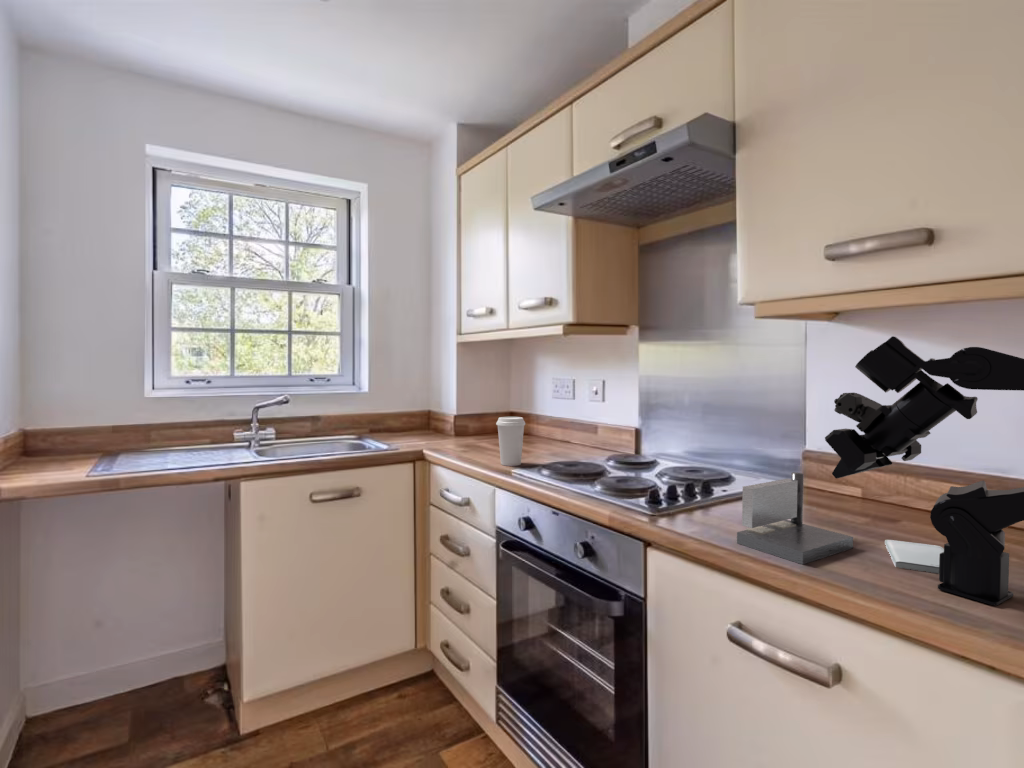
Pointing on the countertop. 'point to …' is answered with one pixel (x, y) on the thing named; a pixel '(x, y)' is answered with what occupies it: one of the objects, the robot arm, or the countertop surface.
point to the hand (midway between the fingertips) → (834, 476)
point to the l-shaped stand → (795, 536)
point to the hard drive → (914, 555)
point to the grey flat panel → (769, 502)
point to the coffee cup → (510, 440)
